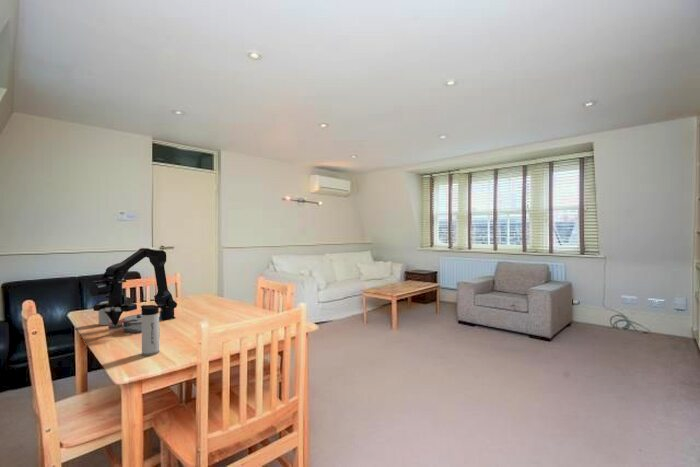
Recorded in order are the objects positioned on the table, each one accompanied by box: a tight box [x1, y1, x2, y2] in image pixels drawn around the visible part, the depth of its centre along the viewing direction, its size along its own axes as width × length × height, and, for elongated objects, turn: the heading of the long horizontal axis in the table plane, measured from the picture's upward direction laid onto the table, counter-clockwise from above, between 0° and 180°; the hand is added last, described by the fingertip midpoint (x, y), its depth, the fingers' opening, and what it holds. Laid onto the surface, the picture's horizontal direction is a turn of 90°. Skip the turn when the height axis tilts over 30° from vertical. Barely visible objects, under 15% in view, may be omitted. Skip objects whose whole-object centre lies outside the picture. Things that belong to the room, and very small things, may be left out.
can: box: [98, 300, 111, 327], centre depth 183 cm, size 8×8×12 cm
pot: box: [107, 316, 163, 335], centre depth 173 cm, size 23×14×5 cm, turn 137°
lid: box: [108, 313, 142, 326], centre depth 172 cm, size 20×15×2 cm
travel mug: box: [140, 304, 160, 357], centre depth 141 cm, size 6×7×20 cm
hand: (115, 325), depth 164 cm, fingers closed
